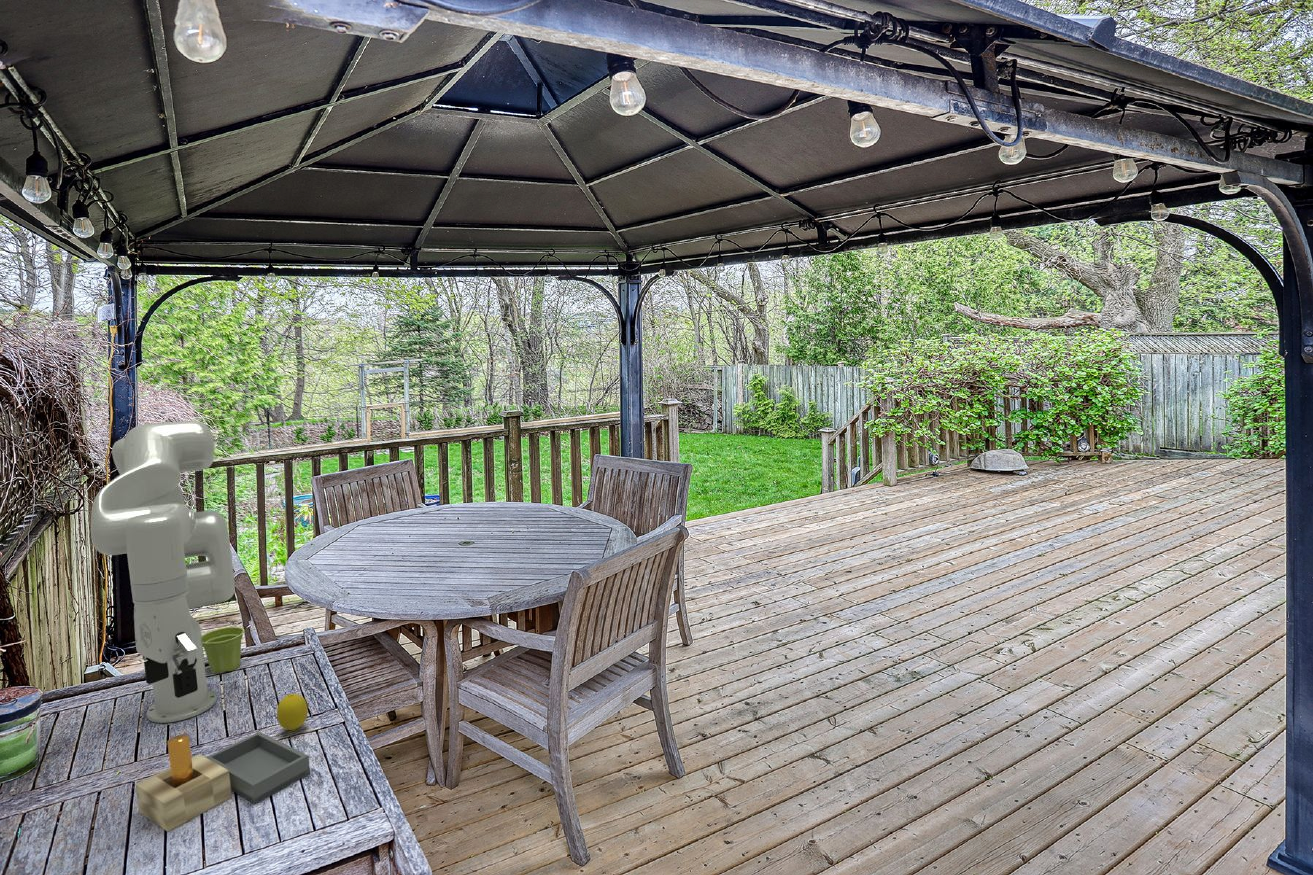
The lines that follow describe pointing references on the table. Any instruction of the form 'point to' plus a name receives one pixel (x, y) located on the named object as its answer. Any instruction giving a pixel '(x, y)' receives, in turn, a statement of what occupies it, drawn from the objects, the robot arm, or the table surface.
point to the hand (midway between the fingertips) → (172, 687)
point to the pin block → (183, 794)
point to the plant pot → (223, 648)
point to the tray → (261, 766)
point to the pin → (180, 760)
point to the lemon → (292, 711)
